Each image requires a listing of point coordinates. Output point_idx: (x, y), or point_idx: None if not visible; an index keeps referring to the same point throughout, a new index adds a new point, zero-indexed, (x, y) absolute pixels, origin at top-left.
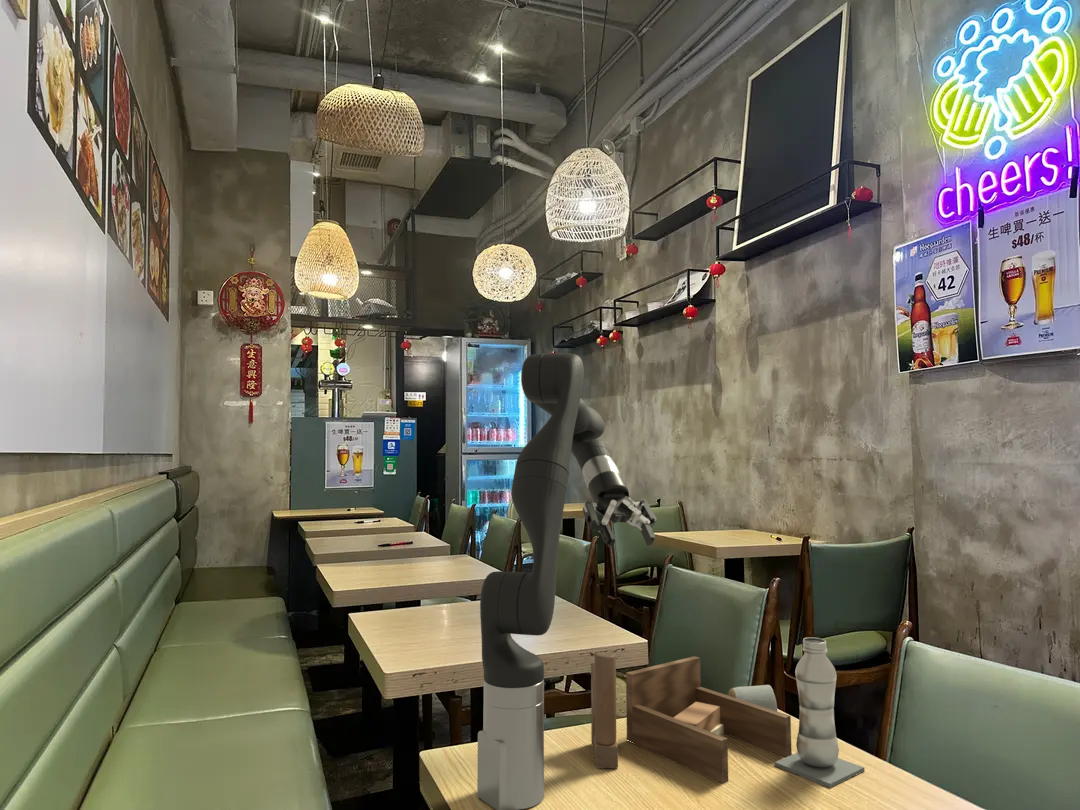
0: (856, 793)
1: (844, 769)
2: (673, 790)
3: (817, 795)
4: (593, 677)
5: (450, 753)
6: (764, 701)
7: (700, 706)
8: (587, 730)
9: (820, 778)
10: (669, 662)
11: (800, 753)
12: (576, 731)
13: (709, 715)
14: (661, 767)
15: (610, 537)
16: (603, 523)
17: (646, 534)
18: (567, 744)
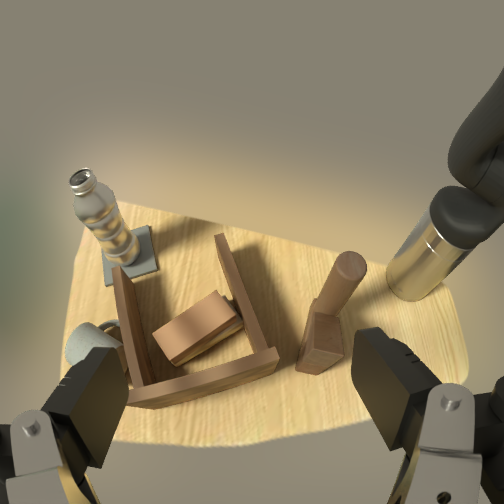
0: (139, 216)
1: None
2: (275, 255)
3: (167, 220)
4: (341, 341)
5: (453, 373)
6: (93, 328)
7: (174, 342)
8: (308, 416)
9: (146, 233)
10: (180, 389)
11: (139, 249)
12: (323, 416)
13: (181, 314)
14: (265, 298)
15: (386, 339)
16: (457, 390)
17: (102, 399)
18: (344, 379)
